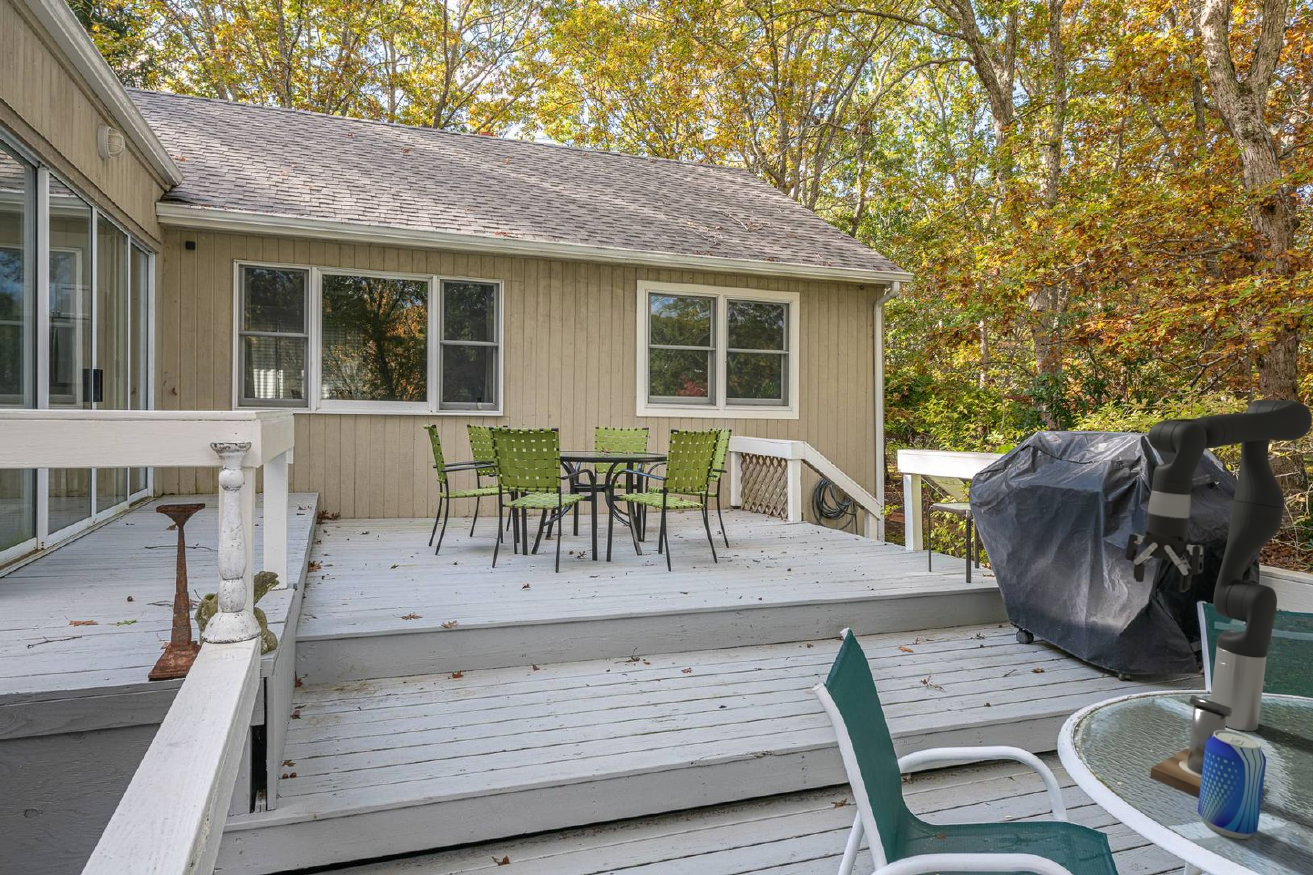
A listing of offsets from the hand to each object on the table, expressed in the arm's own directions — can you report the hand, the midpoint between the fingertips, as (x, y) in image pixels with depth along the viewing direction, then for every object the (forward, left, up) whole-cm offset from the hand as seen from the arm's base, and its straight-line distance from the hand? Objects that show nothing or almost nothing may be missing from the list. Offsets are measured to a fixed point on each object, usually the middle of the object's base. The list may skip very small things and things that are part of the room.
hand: (1160, 586), depth 168 cm
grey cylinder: (+13, +16, -31) cm, 37 cm away
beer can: (+28, +25, -33) cm, 50 cm away
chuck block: (+13, +16, -33) cm, 39 cm away
